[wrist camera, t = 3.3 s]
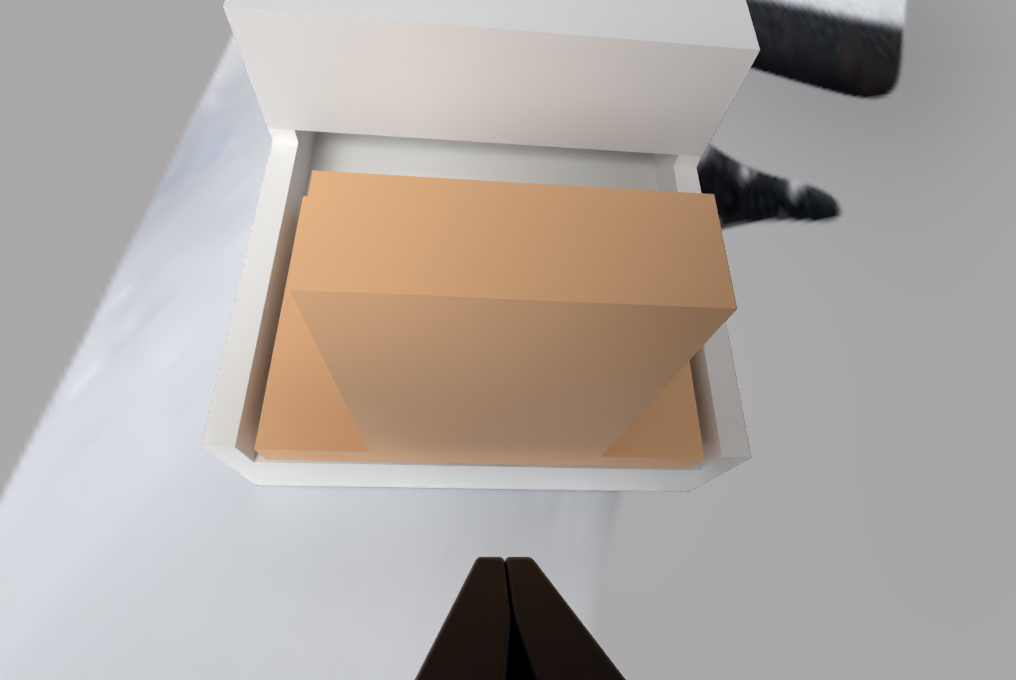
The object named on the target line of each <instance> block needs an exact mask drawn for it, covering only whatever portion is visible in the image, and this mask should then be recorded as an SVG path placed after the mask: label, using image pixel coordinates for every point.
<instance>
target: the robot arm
mask: <svg viewBox="0 0 1016 680" xmlns="http://www.w3.org/2000/svg"><path fill="white" fill-rule="evenodd" d="M415 680H625V678H624V677H623V676H622V674H621V673H620V672H619V670H618V669H617V668H616V667H615V665H614V664H613V663H612V661H611V660H610V659H609V657H608V656H607V655H606V654H605V652H604V651H603V650H602V648H601V647H600V646H599V644H598V643H597V642H596V641H595V639H594V638H593V637H592V635H591V634H590V633H589V631H588V630H587V629H586V627H585V626H584V625H583V624H582V622H581V621H580V620H579V618H578V617H577V616H576V614H575V613H574V612H573V611H572V609H571V608H570V607H569V605H568V604H567V603H566V601H565V600H564V599H563V598H562V596H561V595H560V594H559V592H558V591H557V590H556V588H555V587H554V586H553V584H552V583H551V582H550V581H549V579H548V578H547V577H546V575H545V574H544V573H543V571H542V570H541V569H540V568H539V566H538V565H537V564H536V562H535V561H534V560H533V559H532V558H530V557H508V558H506V560H505V561H504V560H503V558H501V557H479V558H477V559H476V561H475V563H474V564H473V566H472V568H471V570H470V572H469V574H468V576H467V578H466V580H465V582H464V584H463V586H462V588H461V590H460V592H459V594H458V596H457V598H456V600H455V602H454V604H453V606H452V608H451V610H450V612H449V614H448V616H447V618H446V620H445V622H444V623H443V625H442V627H441V629H440V631H439V633H438V635H437V637H436V639H435V641H434V643H433V645H432V647H431V649H430V651H429V653H428V655H427V657H426V659H425V661H424V663H423V665H422V667H421V669H420V671H419V673H418V675H417V677H416V679H415Z"/></svg>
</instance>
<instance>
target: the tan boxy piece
mask: <svg viewBox="0 0 1016 680" xmlns="http://www.w3.org/2000/svg"><path fill="white" fill-rule="evenodd" d="M736 309H737V306H736V301H735V296H734V291H733V286H732V281H731V276H730V271H729V266H728V261H727V256H726V251H725V246H724V241H723V236H722V231H721V226H720V221H719V216H718V211H717V206H716V201H715V196H714V194H703V193H686V192H669V191H652V190H635V189H618V188H601V187H584V186H568V185H551V184H534V183H517V182H500V181H483V180H466V179H449V178H433V177H416V176H399V175H382V174H365V173H348V172H331V171H314V170H312V174H311V180H310V185H309V190H308V196H303V199H302V204H301V209H300V214H299V219H298V225H297V230H296V235H295V240H294V245H293V251H292V256H291V261H290V266H289V271H288V277H287V282H286V287H285V292H284V297H283V302H282V308H281V313H280V318H279V323H278V328H277V334H276V339H275V344H274V349H273V354H272V360H271V365H270V370H269V375H268V380H267V386H266V391H265V396H264V401H263V406H262V412H261V417H260V422H259V427H258V432H257V438H256V443H255V448H254V450H255V451H256V452H258V453H259V454H260V455H261V456H262V457H263V458H264V459H266V460H311V461H364V462H417V463H470V464H523V465H576V466H629V467H681V468H691V467H692V466H694V465H696V464H697V463H699V462H700V461H702V460H703V459H705V458H704V452H703V445H702V439H701V432H700V426H699V419H698V413H697V406H696V400H695V393H694V387H693V380H692V374H691V367H690V359H691V358H692V357H693V356H694V355H695V354H696V353H697V352H698V351H699V350H700V349H701V347H702V346H703V345H704V344H705V343H706V342H707V341H708V340H709V339H710V338H711V337H712V336H713V334H714V333H715V332H716V331H717V330H718V329H719V328H720V327H721V326H722V325H723V324H724V322H725V321H726V320H727V319H728V318H729V317H730V316H731V315H732V314H733V313H734V312H735V311H736Z"/></svg>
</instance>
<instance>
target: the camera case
mask: <svg viewBox="0 0 1016 680" xmlns="http://www.w3.org/2000/svg"><path fill="white" fill-rule="evenodd" d="M223 7H224V10H225V13H226V15H227V18H228V21H229V23H230V26H231V29H232V32H233V34H234V37H235V40H236V42H237V45H238V48H239V51H240V53H241V56H242V59H243V61H244V64H245V67H246V70H247V72H248V75H249V78H250V80H251V83H252V86H253V88H254V91H255V94H256V97H257V99H258V102H259V105H260V107H261V110H262V113H263V116H264V118H265V121H266V124H267V126H268V129H269V132H270V135H271V137H272V140H273V141H272V145H271V150H270V154H269V158H268V162H267V167H266V171H265V175H264V179H263V184H262V188H261V192H260V197H259V201H258V205H257V209H256V214H255V218H254V222H253V226H252V231H251V235H250V239H249V244H248V248H247V252H246V256H245V261H244V265H243V269H242V274H241V278H240V282H239V286H238V291H237V295H236V299H235V303H234V308H233V312H232V316H231V321H230V325H229V329H228V333H227V338H226V342H225V346H224V350H223V355H222V359H221V363H220V368H219V372H218V376H217V380H216V385H215V389H214V393H213V397H212V402H211V406H210V410H209V415H208V419H207V423H206V427H205V432H204V436H203V440H202V445H201V447H203V448H204V449H205V450H207V451H208V452H210V453H211V454H213V455H214V456H215V457H217V458H218V459H220V460H221V461H223V462H224V463H225V464H227V465H228V466H230V467H231V468H233V469H234V470H235V471H237V472H238V473H240V474H241V475H243V476H244V477H245V478H247V479H248V480H250V481H251V482H253V483H254V484H255V485H280V486H345V487H410V488H475V489H540V490H605V491H670V492H672V491H673V492H689V491H691V490H692V489H695V488H696V487H698V486H700V485H702V484H704V483H706V482H708V481H709V480H711V479H713V478H715V477H717V476H719V475H720V474H722V473H724V472H726V471H728V470H730V469H731V468H733V467H735V466H737V465H739V464H741V463H742V462H744V461H746V460H748V459H750V458H751V452H750V448H749V442H748V437H747V431H746V426H745V421H744V416H743V410H742V405H741V400H740V395H739V389H738V384H737V379H736V373H735V368H734V363H733V358H732V352H731V347H730V342H729V337H728V331H727V326H726V321H725V322H724V324H723V325H722V326H721V327H720V328H719V329H718V330H717V331H716V332H715V333H714V334H713V336H712V337H711V338H710V339H709V340H708V341H707V342H706V343H705V344H704V345H703V346H702V347H701V349H700V350H699V351H698V352H697V353H696V354H695V355H694V356H693V357H692V358H691V359H690V367H691V374H692V380H693V387H694V393H695V400H696V406H697V413H698V419H699V426H700V432H701V439H702V445H703V452H704V458H705V459H703V460H702V461H700V462H699V463H697V464H696V465H694V466H692V467H691V468H681V467H629V466H576V465H523V464H470V463H417V462H364V461H311V460H266V459H264V458H263V457H262V456H261V455H260V454H259V453H258V452H256V451H255V450H254V448H255V443H256V438H257V432H258V427H259V422H260V417H261V412H262V406H263V401H264V396H265V391H266V386H267V380H268V375H269V370H270V365H271V360H272V354H273V349H274V344H275V339H276V334H277V328H278V323H279V318H280V313H281V308H282V302H283V297H284V292H285V287H286V282H287V277H288V271H289V266H290V261H291V256H292V251H293V245H294V240H295V235H296V230H297V225H298V219H299V214H300V209H301V204H302V199H303V196H308V190H309V185H310V180H311V174H312V170H314V171H331V172H348V173H365V174H382V175H399V176H416V177H433V178H449V179H466V180H483V181H500V182H517V183H534V184H551V185H568V186H584V187H601V188H618V189H635V190H652V191H669V192H686V193H701V189H700V183H699V178H698V173H697V168H696V167H697V165H698V163H699V161H700V160H701V158H702V156H703V154H704V152H705V150H706V148H707V147H708V145H709V143H710V141H711V139H712V137H713V136H714V134H715V132H716V130H717V128H718V126H719V125H720V122H721V121H722V119H723V117H724V115H725V113H726V111H727V110H728V108H729V106H730V104H731V102H732V101H733V99H734V97H735V95H736V93H737V91H738V89H739V88H740V86H741V84H742V82H743V80H744V78H745V77H746V75H747V73H748V71H749V69H750V67H751V66H752V64H753V62H754V60H755V58H756V56H757V55H758V53H759V51H760V48H759V45H758V41H757V38H756V34H755V31H754V27H753V24H752V20H751V17H750V13H749V10H748V6H747V3H746V0H225V3H224V6H223Z"/></svg>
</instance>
